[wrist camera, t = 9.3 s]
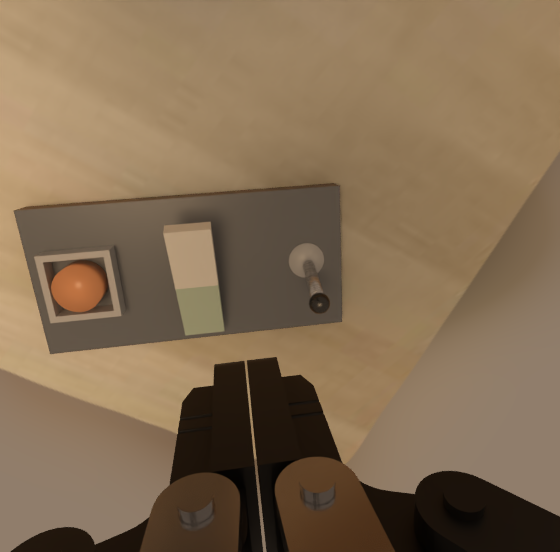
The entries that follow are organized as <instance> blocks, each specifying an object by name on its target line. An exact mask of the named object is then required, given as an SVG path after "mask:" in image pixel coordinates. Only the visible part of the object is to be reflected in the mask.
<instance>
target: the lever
mask: <svg viewBox="0 0 560 552" xmlns="http://www.w3.org/2000/svg"><path fill="white" fill-rule="evenodd" d="M303 270H304V274H305V278H306V281H307V285H308V289H309V292H310V296H311V297H310V299H309V307H310V309H311V310H312V311H313V312H314V313H317V314H323V313H325V312H326V311H327V310H328V309H329V307H330V300H329V298H328V296H327V295H325V294H324V293H323V290H322V287H321V284H320V281H319V277H318V274H317V271H316V268H315V264H314V262H313V261H311V260H306V261H304V263H303Z"/></svg>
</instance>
